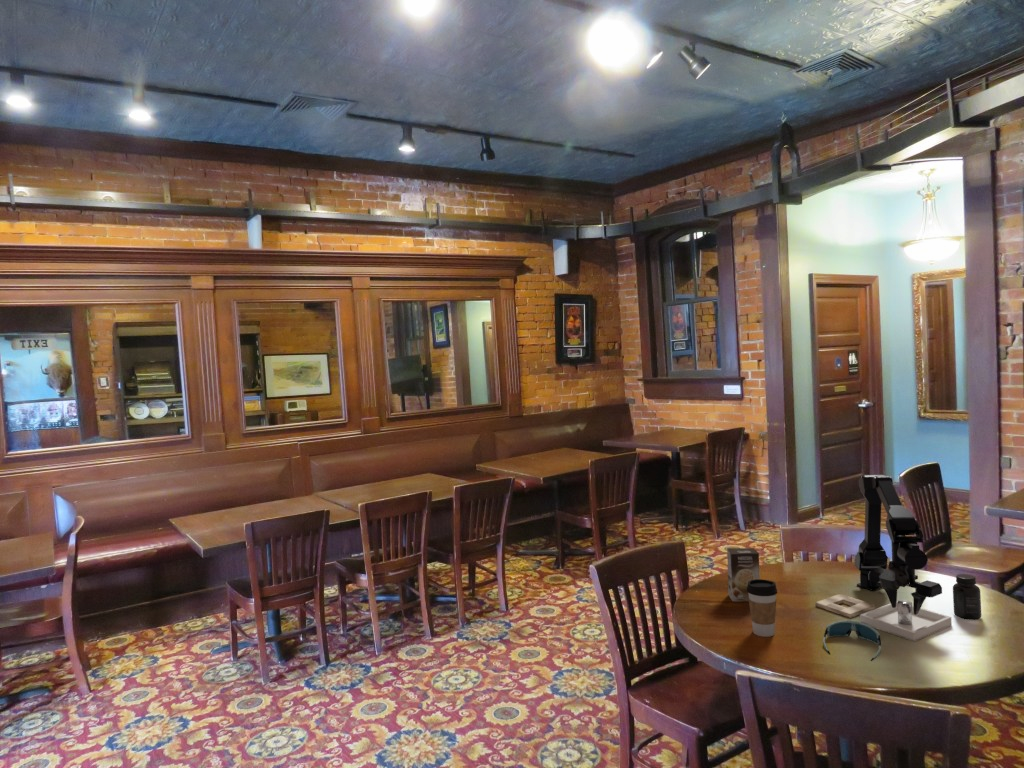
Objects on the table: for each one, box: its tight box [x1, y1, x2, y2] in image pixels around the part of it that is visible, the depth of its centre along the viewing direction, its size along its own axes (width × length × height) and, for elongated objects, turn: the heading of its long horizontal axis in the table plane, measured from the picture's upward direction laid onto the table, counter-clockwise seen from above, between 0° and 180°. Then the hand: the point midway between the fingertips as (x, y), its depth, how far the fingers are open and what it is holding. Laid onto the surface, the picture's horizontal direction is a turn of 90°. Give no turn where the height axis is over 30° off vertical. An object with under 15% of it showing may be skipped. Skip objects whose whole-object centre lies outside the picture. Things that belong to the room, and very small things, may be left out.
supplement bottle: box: [952, 573, 982, 621], centre depth 202 cm, size 7×7×12 cm
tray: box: [859, 600, 953, 642], centre depth 199 cm, size 18×16×2 cm
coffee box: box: [726, 547, 761, 602], centre depth 226 cm, size 9×6×16 cm
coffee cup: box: [747, 578, 778, 638], centre depth 199 cm, size 8×8×15 cm
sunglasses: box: [822, 620, 882, 662], centre depth 187 cm, size 14×15×5 cm
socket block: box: [815, 593, 876, 619], centre depth 214 cm, size 12×12×1 cm
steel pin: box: [897, 599, 913, 625], centre depth 199 cm, size 4×4×6 cm
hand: (904, 610), depth 199 cm, fingers open, 6 cm apart
